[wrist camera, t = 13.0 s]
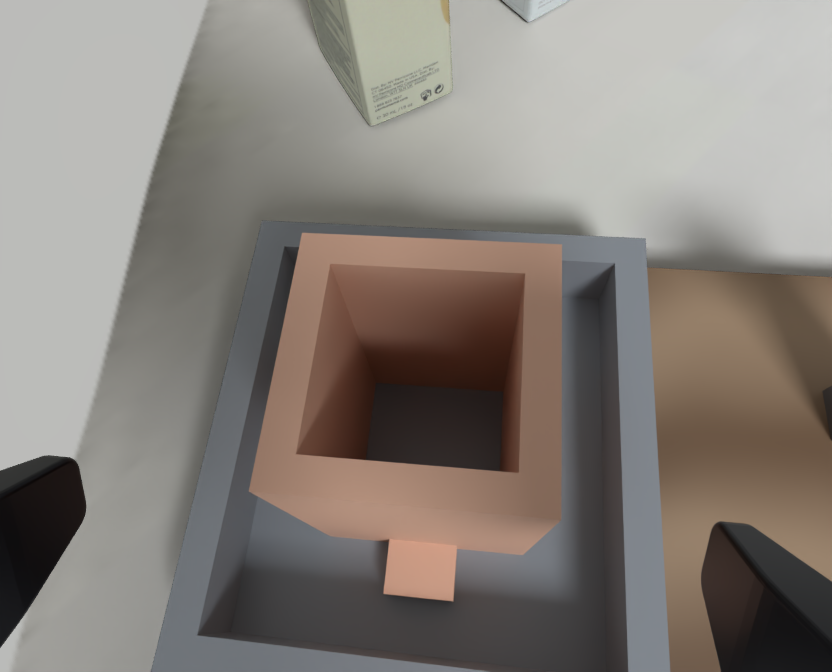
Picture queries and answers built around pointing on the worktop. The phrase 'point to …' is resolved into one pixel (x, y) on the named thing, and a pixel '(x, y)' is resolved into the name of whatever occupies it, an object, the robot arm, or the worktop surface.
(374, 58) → the skincare box
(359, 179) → the worktop surface
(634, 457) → the charcoal tray
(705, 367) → the walnut base
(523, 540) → the terracotta collar
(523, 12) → the supplement box
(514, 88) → the worktop surface
